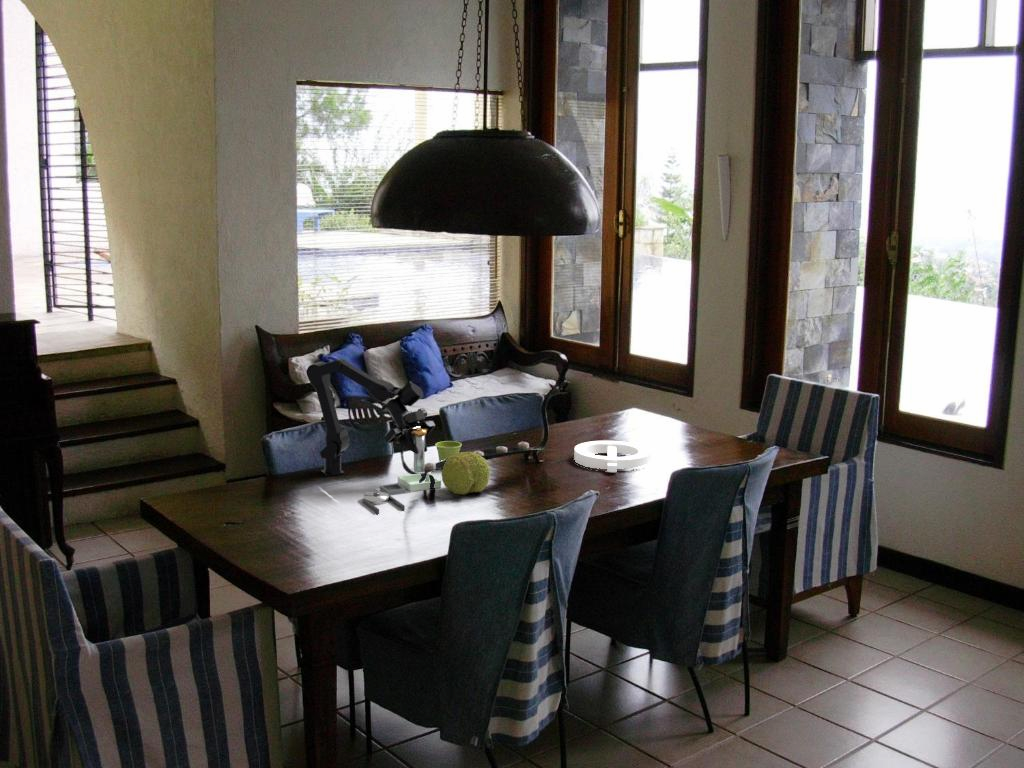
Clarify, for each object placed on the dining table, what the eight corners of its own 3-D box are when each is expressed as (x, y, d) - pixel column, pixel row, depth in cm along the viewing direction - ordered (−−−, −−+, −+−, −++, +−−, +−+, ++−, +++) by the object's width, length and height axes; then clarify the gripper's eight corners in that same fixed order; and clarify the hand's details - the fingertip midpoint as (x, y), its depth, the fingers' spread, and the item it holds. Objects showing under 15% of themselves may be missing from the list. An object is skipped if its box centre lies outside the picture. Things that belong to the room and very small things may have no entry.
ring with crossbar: (611, 448, 438) (612, 437, 437) (665, 464, 417) (666, 452, 416) (558, 459, 420) (558, 447, 419) (611, 477, 399) (612, 464, 398)
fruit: (472, 503, 364) (450, 462, 362) (447, 508, 375) (426, 469, 373) (505, 478, 374) (484, 439, 372) (480, 484, 385) (459, 446, 384)
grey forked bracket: (358, 500, 364) (358, 491, 363) (385, 497, 368) (385, 487, 367) (376, 515, 350) (376, 505, 349) (404, 511, 354) (404, 501, 354)
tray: (397, 484, 382) (397, 476, 382) (427, 481, 388) (427, 472, 387) (410, 493, 373) (410, 484, 372) (440, 489, 378) (440, 480, 378)
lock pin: (409, 469, 380) (409, 429, 377) (422, 467, 382) (423, 427, 380) (415, 472, 376) (415, 432, 373) (428, 471, 378) (429, 430, 375)
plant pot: (449, 472, 399) (450, 448, 397) (429, 467, 404) (430, 444, 402) (466, 467, 406) (467, 443, 404) (446, 462, 411) (447, 439, 410)
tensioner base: (374, 490, 375) (374, 485, 375) (399, 487, 380) (399, 482, 379) (385, 497, 368) (385, 492, 367) (410, 494, 372) (410, 489, 372)
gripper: (390, 404, 370) (412, 443, 365) (432, 397, 384) (454, 434, 379) (374, 423, 377) (396, 462, 372) (416, 415, 391) (437, 452, 385)
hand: (421, 452), depth 377 cm, fingers closed on lock pin, 4 cm apart
